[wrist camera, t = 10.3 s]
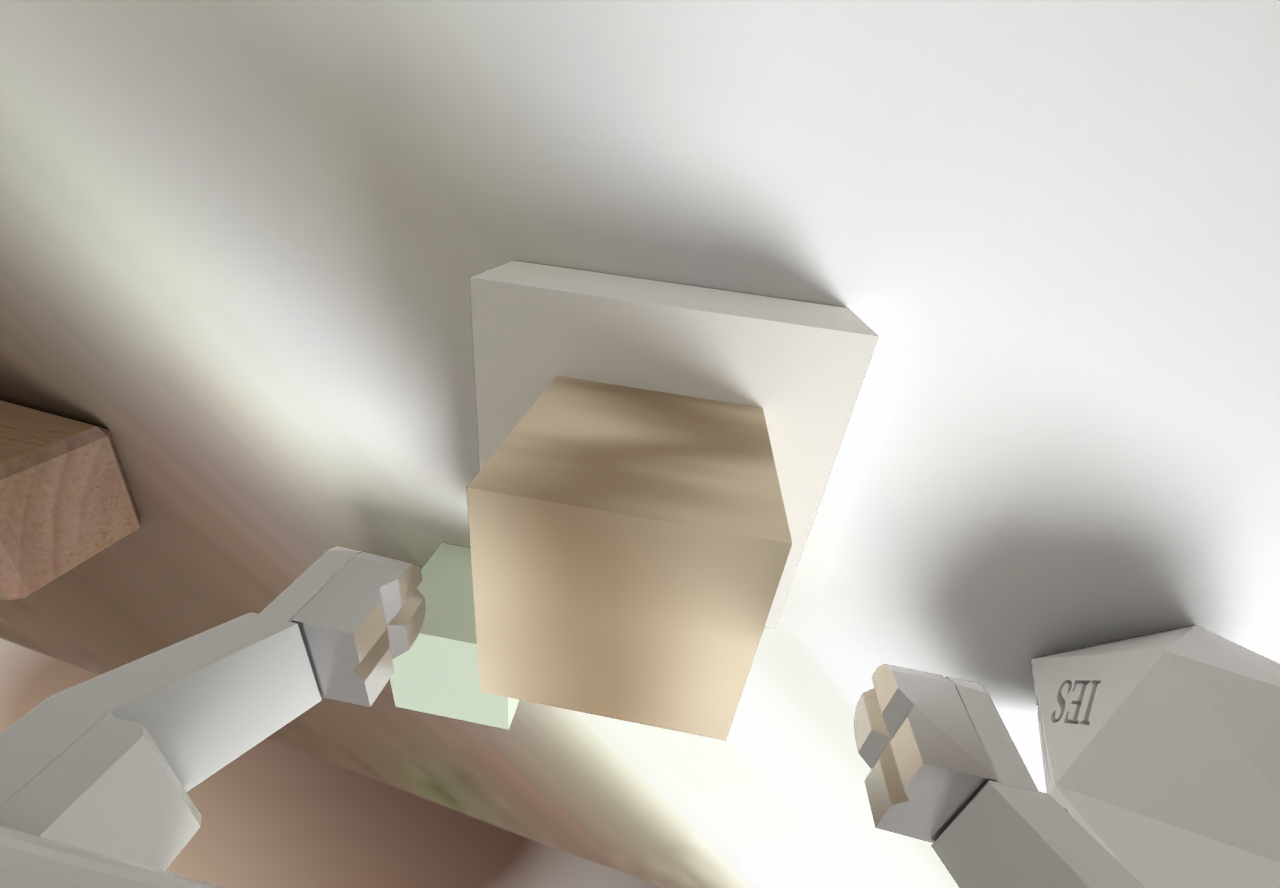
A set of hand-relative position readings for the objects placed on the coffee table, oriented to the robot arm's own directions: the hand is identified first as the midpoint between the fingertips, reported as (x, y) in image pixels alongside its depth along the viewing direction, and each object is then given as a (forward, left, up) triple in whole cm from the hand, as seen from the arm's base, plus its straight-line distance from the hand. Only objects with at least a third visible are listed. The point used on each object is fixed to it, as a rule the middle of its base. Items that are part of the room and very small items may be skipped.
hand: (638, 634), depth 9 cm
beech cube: (+1, +1, -6) cm, 6 cm away
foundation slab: (+1, +1, -9) cm, 9 cm away
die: (-18, +8, -9) cm, 22 cm away
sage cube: (+7, +10, -9) cm, 15 cm away
